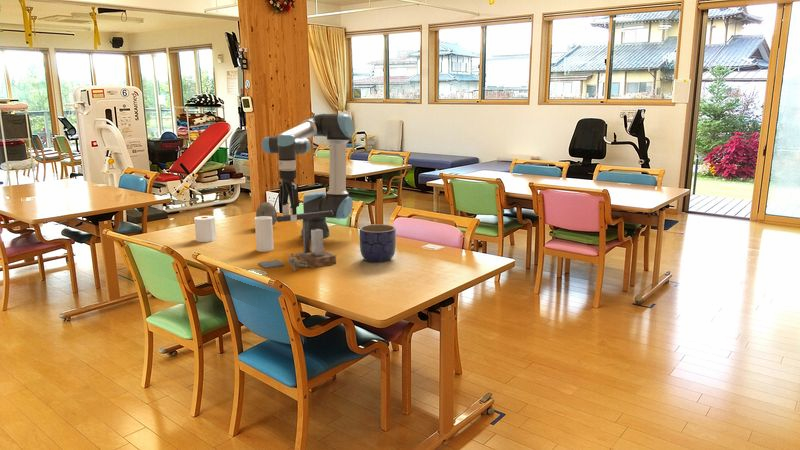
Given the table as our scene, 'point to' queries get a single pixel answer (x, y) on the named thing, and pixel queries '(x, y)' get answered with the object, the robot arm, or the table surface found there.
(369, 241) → the planter
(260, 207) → the decorative egg
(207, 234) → the toilet paper
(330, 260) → the eye block
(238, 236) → the table surface
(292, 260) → the elephant figurine
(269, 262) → the mat
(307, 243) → the handle post
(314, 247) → the peg
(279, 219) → the dark grey bar
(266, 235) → the cup
